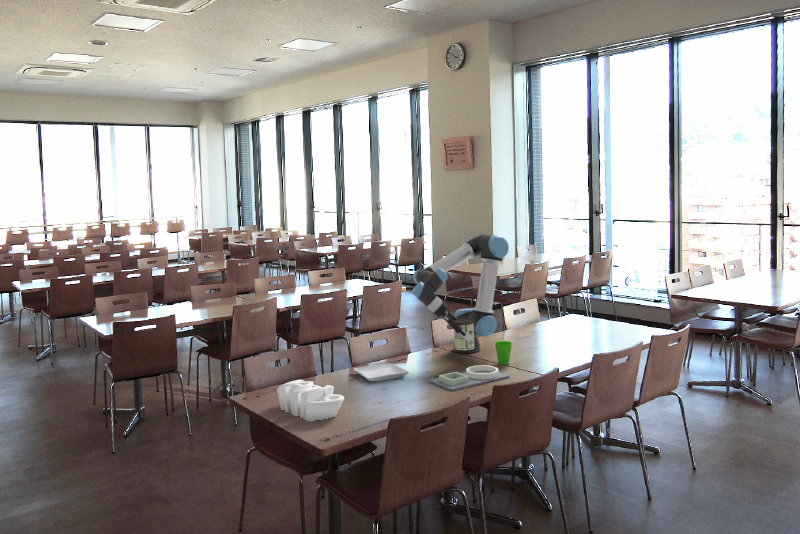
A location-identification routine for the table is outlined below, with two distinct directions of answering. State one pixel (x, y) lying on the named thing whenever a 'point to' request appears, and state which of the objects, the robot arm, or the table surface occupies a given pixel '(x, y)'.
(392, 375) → the salad plate
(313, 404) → the wavy white extrusion
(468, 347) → the coffee can
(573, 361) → the table surface
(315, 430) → the table surface
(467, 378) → the sorting board
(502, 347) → the cup
